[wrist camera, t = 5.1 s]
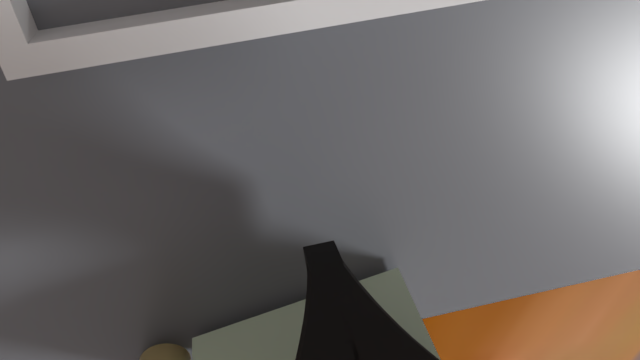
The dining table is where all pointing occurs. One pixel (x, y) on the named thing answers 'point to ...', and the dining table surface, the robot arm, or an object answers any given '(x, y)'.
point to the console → (303, 158)
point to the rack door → (292, 328)
